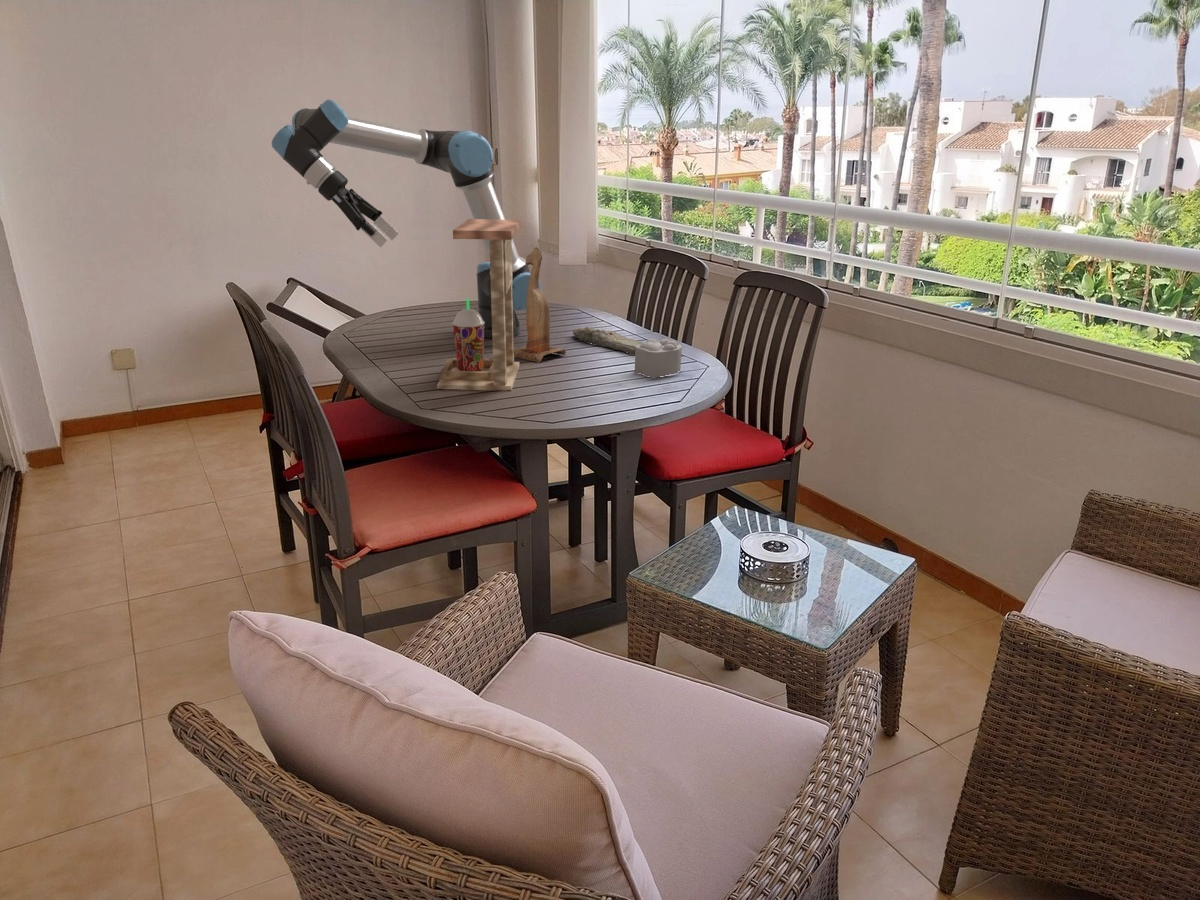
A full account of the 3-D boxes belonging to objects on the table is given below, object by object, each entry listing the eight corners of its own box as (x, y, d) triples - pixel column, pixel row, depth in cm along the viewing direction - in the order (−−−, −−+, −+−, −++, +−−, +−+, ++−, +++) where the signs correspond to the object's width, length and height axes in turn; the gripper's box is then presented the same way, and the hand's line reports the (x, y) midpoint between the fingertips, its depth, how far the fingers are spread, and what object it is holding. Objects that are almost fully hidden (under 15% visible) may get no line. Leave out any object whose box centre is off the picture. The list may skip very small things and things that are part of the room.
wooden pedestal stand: (436, 390, 221) (427, 229, 207) (452, 364, 245) (445, 218, 231) (514, 391, 221) (511, 231, 207) (523, 365, 246) (520, 219, 231)
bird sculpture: (536, 351, 262) (531, 243, 251) (566, 356, 256) (563, 245, 245) (511, 358, 254) (505, 247, 243) (543, 364, 247) (538, 249, 236)
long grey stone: (643, 365, 254) (666, 361, 261) (645, 347, 252) (668, 344, 259) (563, 337, 276) (586, 334, 283) (565, 321, 275) (587, 318, 281)
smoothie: (480, 377, 228) (477, 302, 221) (450, 375, 230) (446, 300, 223) (490, 369, 236) (488, 296, 229) (461, 367, 238) (458, 294, 231)
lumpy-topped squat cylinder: (629, 370, 242) (630, 340, 239) (665, 364, 249) (666, 334, 246) (653, 379, 234) (655, 348, 231) (689, 372, 241) (691, 341, 238)
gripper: (331, 186, 235) (391, 243, 240) (302, 194, 211) (369, 257, 217) (349, 166, 233) (408, 224, 238) (322, 171, 210) (389, 235, 215)
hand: (390, 240), depth 228 cm, fingers open, 13 cm apart
